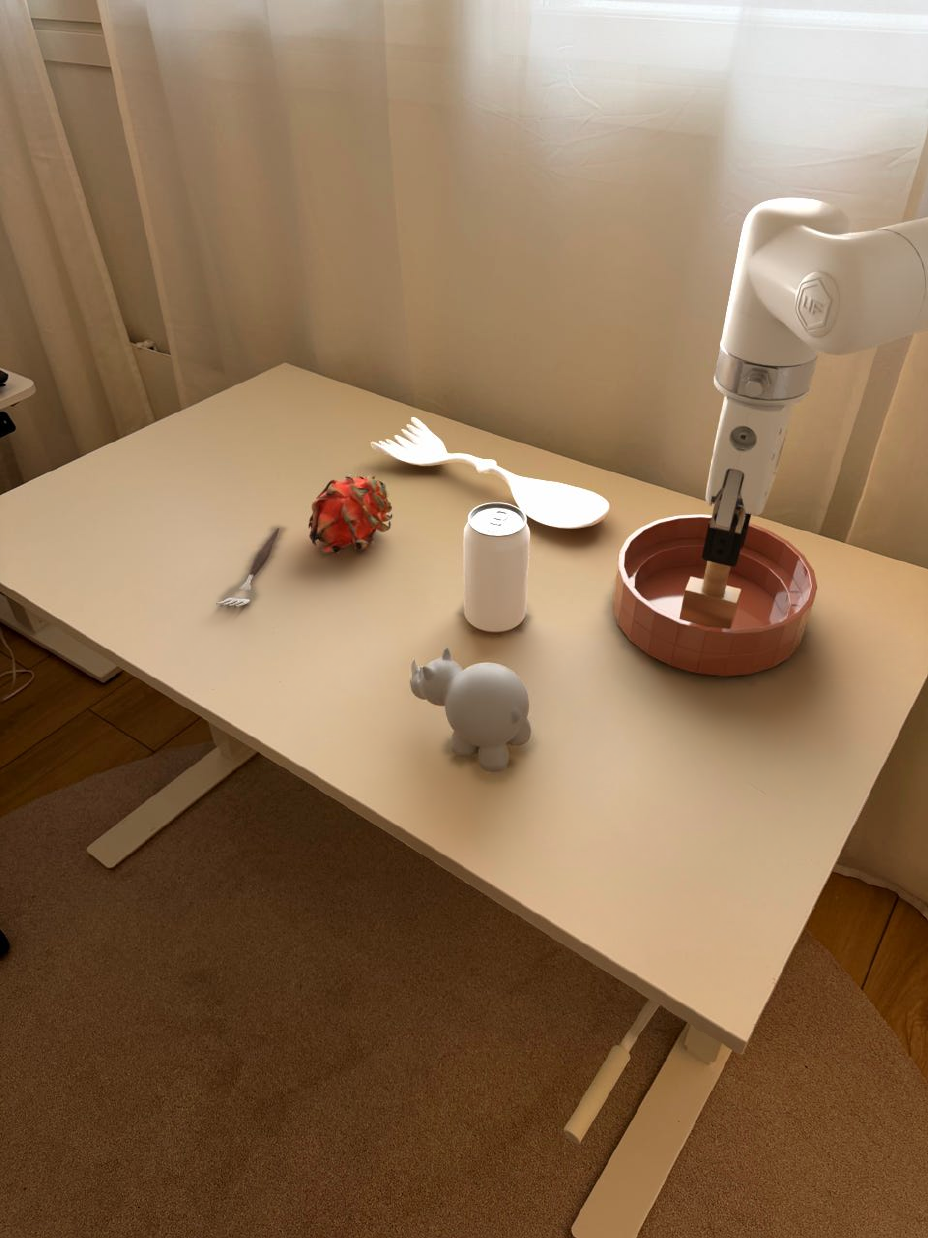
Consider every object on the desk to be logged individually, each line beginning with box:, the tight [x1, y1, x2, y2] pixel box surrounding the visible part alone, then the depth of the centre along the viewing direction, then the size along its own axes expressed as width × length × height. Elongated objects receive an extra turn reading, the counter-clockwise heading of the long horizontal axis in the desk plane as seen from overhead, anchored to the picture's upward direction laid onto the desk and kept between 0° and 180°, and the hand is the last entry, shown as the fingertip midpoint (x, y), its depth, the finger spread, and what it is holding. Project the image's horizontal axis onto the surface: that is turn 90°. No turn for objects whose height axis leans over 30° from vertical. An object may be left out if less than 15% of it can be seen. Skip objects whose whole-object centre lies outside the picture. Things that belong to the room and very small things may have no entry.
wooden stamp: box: [679, 509, 741, 629], centre depth 85 cm, size 5×2×14 cm, turn 66°
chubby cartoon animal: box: [409, 646, 532, 773], centre depth 78 cm, size 7×12×8 cm, turn 51°
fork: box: [215, 527, 280, 608], centre depth 98 cm, size 3×16×2 cm, turn 170°
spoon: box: [370, 416, 610, 530], centre depth 110 cm, size 9×32×4 cm, turn 53°
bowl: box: [612, 513, 818, 677], centre depth 91 cm, size 19×19×6 cm
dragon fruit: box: [308, 473, 393, 554], centre depth 101 cm, size 8×8×12 cm
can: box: [462, 502, 531, 634], centre depth 89 cm, size 6×6×12 cm
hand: (722, 551), depth 84 cm, fingers closed on wooden stamp, 2 cm apart
